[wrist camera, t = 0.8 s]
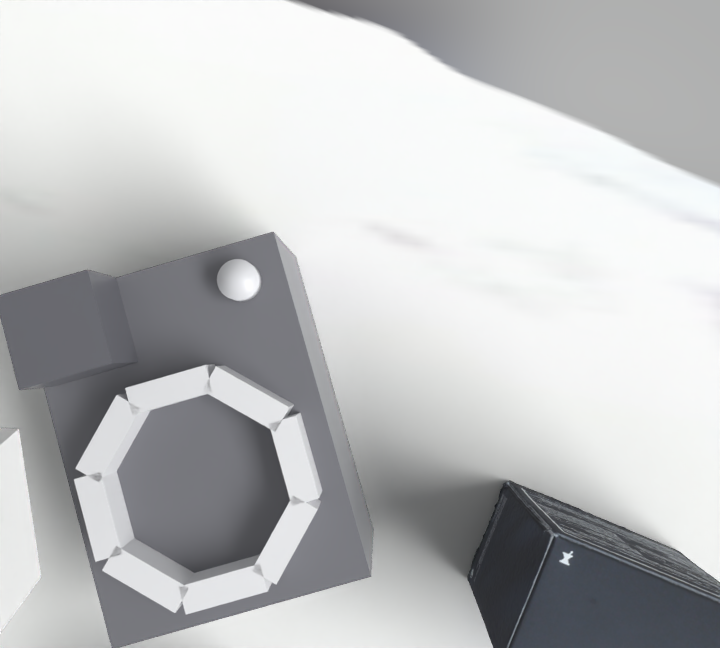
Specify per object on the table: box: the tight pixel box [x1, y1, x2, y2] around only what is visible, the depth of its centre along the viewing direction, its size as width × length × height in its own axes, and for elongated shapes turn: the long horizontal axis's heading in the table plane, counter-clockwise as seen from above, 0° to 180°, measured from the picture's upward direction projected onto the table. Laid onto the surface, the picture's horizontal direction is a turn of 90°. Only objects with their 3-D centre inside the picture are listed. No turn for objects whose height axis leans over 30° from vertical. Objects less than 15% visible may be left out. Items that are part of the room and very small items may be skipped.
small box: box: [468, 481, 720, 648], centre depth 32 cm, size 11×6×10 cm, turn 68°
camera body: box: [0, 232, 373, 648], centre depth 33 cm, size 16×12×11 cm
